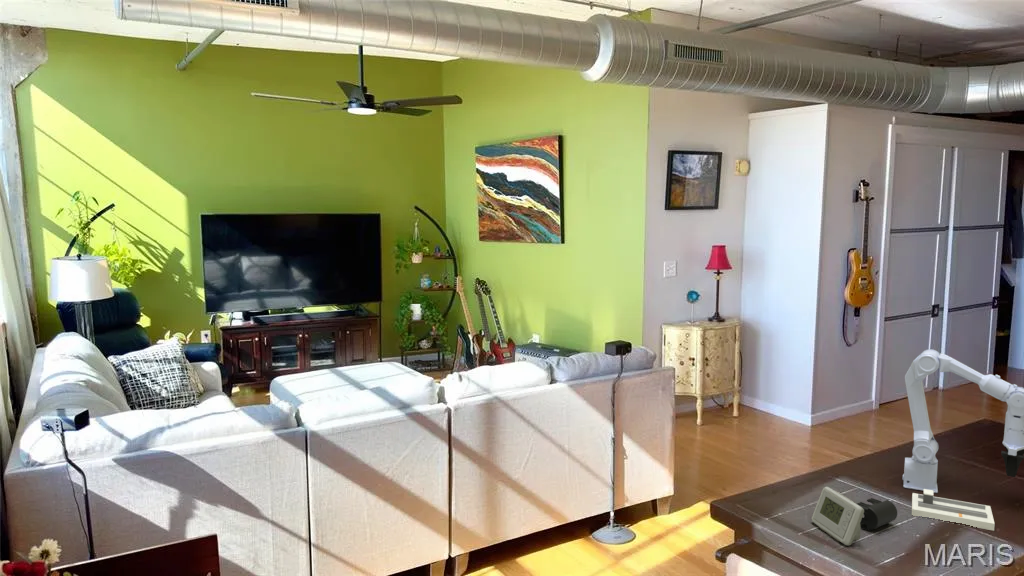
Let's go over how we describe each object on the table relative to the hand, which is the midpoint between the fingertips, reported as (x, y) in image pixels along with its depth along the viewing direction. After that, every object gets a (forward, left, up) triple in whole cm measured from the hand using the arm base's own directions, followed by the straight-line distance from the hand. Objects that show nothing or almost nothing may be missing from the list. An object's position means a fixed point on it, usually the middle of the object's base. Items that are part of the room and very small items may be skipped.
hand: (1012, 472), depth 217 cm
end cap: (-35, -37, -10) cm, 52 cm away
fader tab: (-22, -17, -8) cm, 29 cm away
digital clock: (-44, -48, -10) cm, 66 cm away
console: (-16, -17, -10) cm, 25 cm away
